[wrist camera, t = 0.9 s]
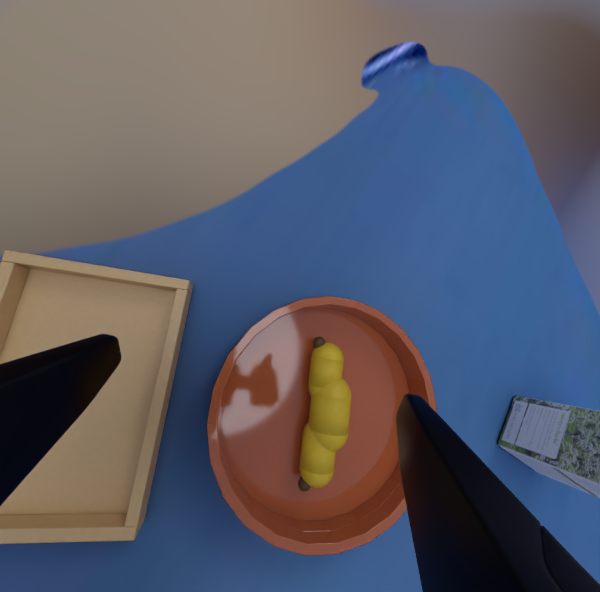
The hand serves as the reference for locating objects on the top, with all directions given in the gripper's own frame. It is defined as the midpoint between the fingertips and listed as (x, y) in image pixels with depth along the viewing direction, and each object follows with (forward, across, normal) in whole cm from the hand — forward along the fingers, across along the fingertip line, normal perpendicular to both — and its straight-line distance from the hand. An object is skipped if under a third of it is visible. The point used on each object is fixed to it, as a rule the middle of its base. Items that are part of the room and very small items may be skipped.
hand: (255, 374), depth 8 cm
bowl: (+11, -4, +13) cm, 17 cm away
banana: (+11, -4, +12) cm, 17 cm away
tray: (+7, +14, +11) cm, 19 cm away
